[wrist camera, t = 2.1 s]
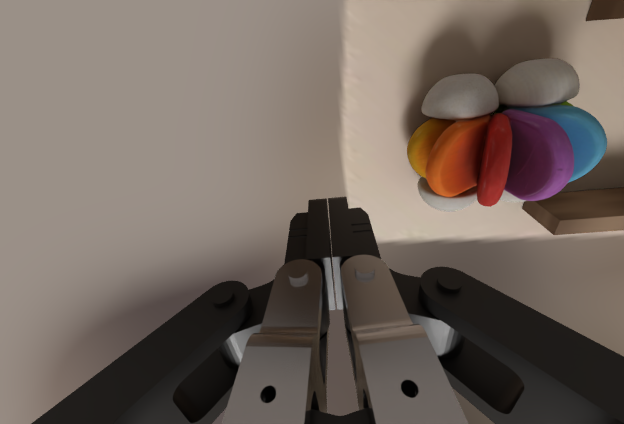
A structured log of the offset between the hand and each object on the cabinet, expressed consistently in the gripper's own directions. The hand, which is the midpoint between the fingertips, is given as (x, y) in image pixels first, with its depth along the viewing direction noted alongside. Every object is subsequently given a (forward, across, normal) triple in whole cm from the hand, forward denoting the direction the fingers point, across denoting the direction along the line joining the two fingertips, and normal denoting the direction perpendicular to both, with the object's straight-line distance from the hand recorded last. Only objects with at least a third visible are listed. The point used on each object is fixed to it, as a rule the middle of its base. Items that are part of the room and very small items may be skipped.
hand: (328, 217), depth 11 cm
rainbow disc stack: (+10, -10, 0) cm, 14 cm away
